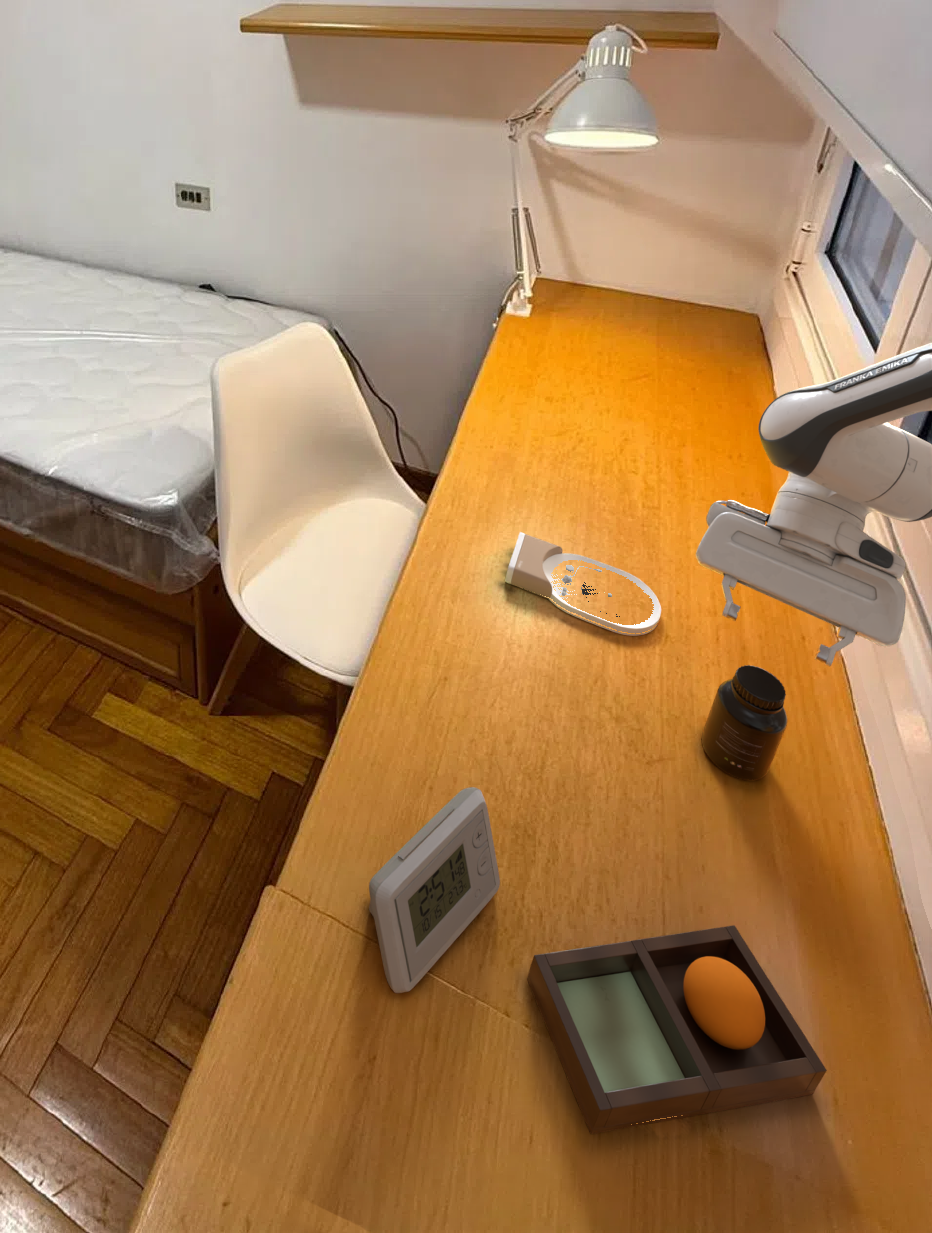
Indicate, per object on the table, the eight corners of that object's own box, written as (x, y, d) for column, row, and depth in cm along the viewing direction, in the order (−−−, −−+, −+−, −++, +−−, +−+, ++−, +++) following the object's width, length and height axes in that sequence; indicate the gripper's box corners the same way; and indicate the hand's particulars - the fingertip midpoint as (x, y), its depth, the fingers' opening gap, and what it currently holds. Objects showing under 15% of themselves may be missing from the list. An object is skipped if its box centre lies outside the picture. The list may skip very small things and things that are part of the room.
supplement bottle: (705, 717, 100) (731, 646, 96) (770, 751, 96) (801, 678, 92) (694, 758, 95) (721, 685, 91) (762, 796, 91) (794, 721, 87)
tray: (723, 948, 78) (734, 924, 76) (813, 1094, 68) (827, 1070, 67) (526, 978, 75) (533, 954, 74) (590, 1134, 66) (600, 1110, 64)
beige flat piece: (522, 525, 127) (666, 577, 118) (518, 540, 128) (660, 593, 119) (506, 573, 118) (661, 633, 108) (502, 589, 119) (655, 650, 110)
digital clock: (390, 1009, 73) (404, 939, 69) (333, 907, 80) (342, 838, 76) (523, 920, 80) (543, 851, 76) (459, 833, 87) (473, 766, 83)
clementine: (721, 975, 75) (739, 937, 73) (770, 1059, 70) (792, 1020, 67) (661, 984, 74) (677, 946, 72) (706, 1070, 69) (725, 1031, 67)
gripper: (715, 487, 103) (676, 590, 100) (924, 569, 90) (886, 689, 87) (714, 498, 108) (677, 597, 105) (912, 577, 95) (876, 691, 92)
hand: (774, 639), depth 96 cm, fingers open, 8 cm apart
